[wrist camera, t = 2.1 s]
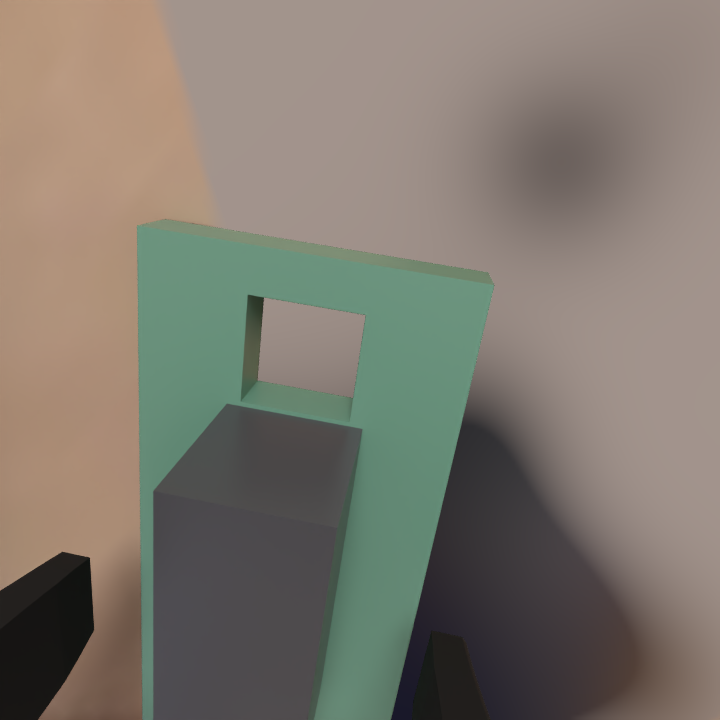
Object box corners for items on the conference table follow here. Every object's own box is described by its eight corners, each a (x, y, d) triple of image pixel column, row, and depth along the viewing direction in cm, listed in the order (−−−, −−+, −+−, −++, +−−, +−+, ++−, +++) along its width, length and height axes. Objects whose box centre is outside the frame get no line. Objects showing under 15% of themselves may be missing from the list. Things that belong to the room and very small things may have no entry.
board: (378, 747, 17) (360, 945, 12) (161, 698, 17) (73, 873, 13) (487, 272, 11) (522, 340, 7) (165, 219, 12) (14, 252, 7)
